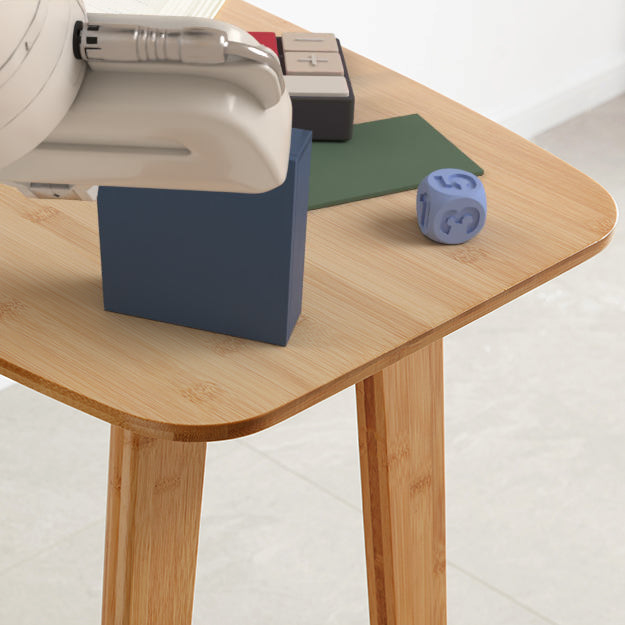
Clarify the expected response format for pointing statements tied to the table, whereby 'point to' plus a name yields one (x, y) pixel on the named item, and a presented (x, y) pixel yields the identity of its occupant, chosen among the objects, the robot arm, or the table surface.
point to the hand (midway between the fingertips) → (65, 182)
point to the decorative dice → (451, 206)
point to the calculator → (315, 82)
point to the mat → (380, 160)
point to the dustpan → (209, 253)
